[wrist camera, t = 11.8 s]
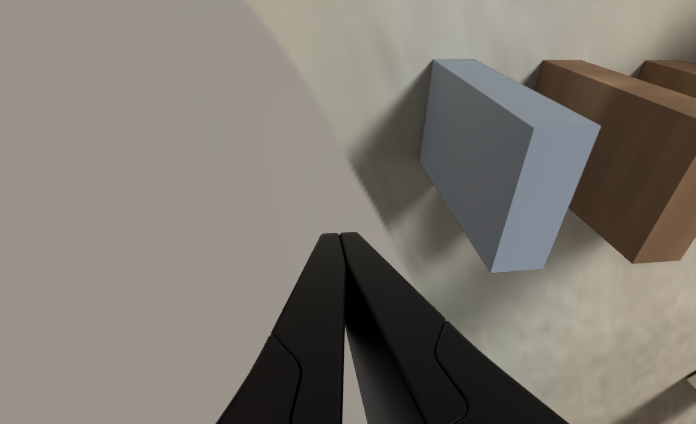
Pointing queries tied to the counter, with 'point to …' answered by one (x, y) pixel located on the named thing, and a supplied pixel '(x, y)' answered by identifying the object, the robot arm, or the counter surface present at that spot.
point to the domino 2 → (631, 159)
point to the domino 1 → (502, 161)
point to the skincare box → (692, 380)
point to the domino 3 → (671, 75)
